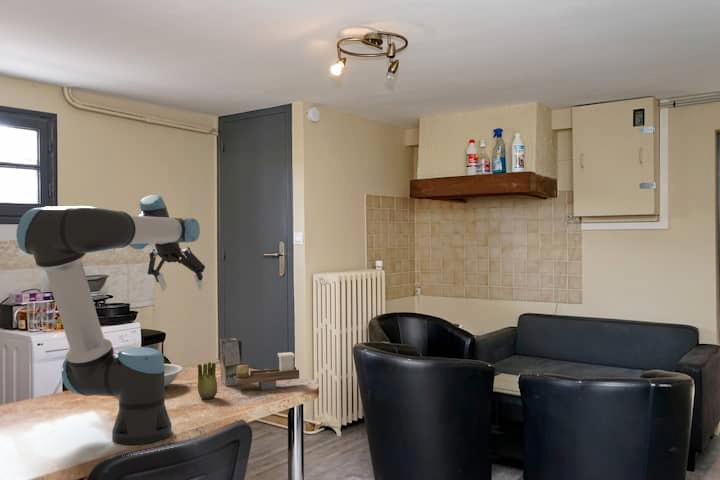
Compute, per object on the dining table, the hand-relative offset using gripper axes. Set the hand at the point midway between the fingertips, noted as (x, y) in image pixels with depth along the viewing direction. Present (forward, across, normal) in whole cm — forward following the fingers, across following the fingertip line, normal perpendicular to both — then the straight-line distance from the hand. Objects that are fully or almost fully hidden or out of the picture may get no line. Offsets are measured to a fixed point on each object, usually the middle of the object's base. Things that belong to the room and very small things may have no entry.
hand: (182, 287), depth 212 cm
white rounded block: (+31, -34, +13) cm, 48 cm away
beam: (+33, -28, +18) cm, 47 cm away
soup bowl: (+29, +15, +21) cm, 39 cm away
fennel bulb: (+24, -12, +30) cm, 40 cm away
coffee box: (+36, -12, +12) cm, 40 cm away
